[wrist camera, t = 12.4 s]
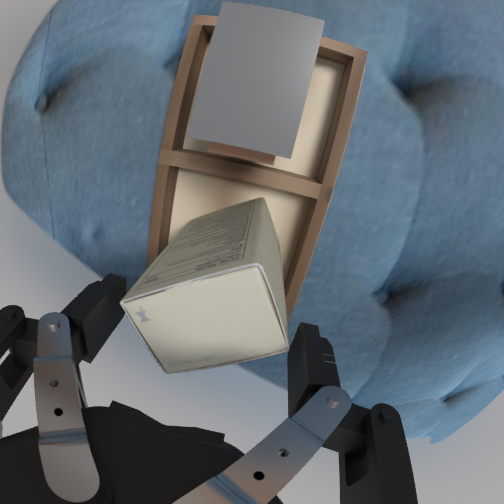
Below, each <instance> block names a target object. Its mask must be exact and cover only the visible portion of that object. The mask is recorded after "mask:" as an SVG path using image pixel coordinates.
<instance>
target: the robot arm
mask: <svg viewBox="0 0 504 504" xmlns="http://www.w3.org/2000/svg"><path fill="white" fill-rule="evenodd" d="M125 295H126V279H125V278H124V277H121V276H117V275H114V274H111V273H110V274H108V275H107V276H106V277H105V278H104V279H103V280H102V281H96V282H94V283H92V284H89V285H88V286H87V287H86V288H85V289H84V290H83V291H82V292H81V293H80V294H79V295H78V296H77V297H76V298H75V299H73V301H71V302H70V303H69V305H67V307H66V308H64V309H63V311H61V313H57V312H53V313H48V314H45V315H44V316H42V317H41V318H40V320H37V319H31V318H26V317H25V314H24V311H23V309H22V308H21V307H19V306H17V305H9V306H6V307H4V308H2V309H1V310H0V359H1V357H2V356H3V355H4V353H5V352H6V351H7V350H8V349H9V352H10V353H9V355H8V356H7V357H6V359H5V360H4V361H3V363H2V364H1V365H0V504H283V503H282V502H281V500H280V499H279V498H278V496H277V494H278V493H279V492H280V491H281V490H282V489H283V488H284V487H285V486H286V485H287V483H289V482H290V480H291V479H292V478H293V477H294V476H295V475H296V474H297V473H298V472H299V471H300V470H301V469H302V468H303V467H304V466H305V465H306V463H307V462H308V461H309V460H310V459H311V458H312V457H313V456H314V454H315V453H316V452H317V451H318V450H319V448H320V447H321V446H322V447H324V448H327V449H330V450H333V451H336V452H339V473H340V504H418V501H417V494H416V488H415V482H414V477H413V471H412V466H411V461H410V456H409V452H408V447H407V443H406V438H405V434H404V430H403V425H402V421H401V418H400V415H399V413H398V412H397V410H396V409H395V408H393V407H392V406H390V405H388V404H383V403H380V404H376V405H374V406H373V407H372V409H371V410H370V409H367V408H364V407H361V406H358V405H356V404H353V403H352V401H351V398H350V396H349V395H348V393H347V392H346V391H344V390H343V389H341V387H340V381H339V376H338V372H337V367H336V364H335V357H334V353H333V348H332V346H331V344H330V343H329V341H328V340H327V339H326V338H322V337H320V334H319V329H318V326H317V325H313V324H308V323H302V322H301V323H300V325H299V327H298V329H297V332H296V334H295V337H294V339H293V341H292V344H291V346H290V350H289V353H288V358H287V366H288V418H287V419H286V420H285V421H283V422H282V423H281V424H280V425H279V426H278V427H277V428H276V429H275V430H273V431H272V432H271V433H270V434H269V435H268V436H267V437H265V438H264V439H263V440H262V441H261V442H260V443H258V444H257V445H256V446H255V447H254V448H252V449H251V450H250V451H249V452H247V453H246V454H244V453H242V452H241V451H240V450H239V449H237V448H236V447H234V446H232V445H231V444H229V443H226V442H224V436H225V434H223V433H219V432H214V431H209V430H205V429H201V428H197V427H180V426H167V425H163V424H161V423H159V422H158V421H156V420H154V419H153V418H151V417H149V416H147V415H146V414H144V413H142V412H141V411H139V410H137V409H134V408H131V407H129V406H126V405H123V404H121V403H118V402H115V401H112V403H111V405H110V406H109V407H103V406H95V407H88V405H87V402H86V398H85V393H84V389H83V384H82V379H81V373H80V368H79V363H80V362H81V361H82V360H84V361H86V362H88V363H91V362H92V361H93V359H94V358H95V356H96V355H97V353H98V352H99V350H100V349H101V348H102V346H103V345H104V343H105V342H106V340H107V339H108V337H109V336H110V335H111V333H112V332H113V331H114V329H115V328H116V327H117V325H118V324H119V322H120V321H121V320H122V318H123V317H124V314H125V311H124V309H123V307H122V306H121V304H120V302H121V300H122V299H123V298H124V296H125ZM33 372H34V387H35V388H34V389H35V402H36V411H37V420H38V426H36V427H33V428H30V429H28V430H25V431H22V432H19V433H16V434H13V435H10V436H7V437H2V429H3V427H2V423H1V422H2V420H3V419H4V417H5V415H6V414H7V412H8V410H9V409H10V407H11V405H12V404H13V402H14V401H15V399H16V397H17V396H18V394H19V393H20V391H21V390H22V388H23V387H24V385H25V384H26V382H27V381H28V379H29V377H30V376H31V375H32V373H33Z"/></svg>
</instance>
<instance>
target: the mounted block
mask: <svg viewBox="0 0 504 504" xmlns="http://www.w3.org/2000/svg"><path fill="white" fill-rule="evenodd" d="M324 23H325V21H324V20H321V19H317V18H314V17H310V16H306V15H302V14H298V13H294V12H289V11H285V10H280V9H274V8H269V7H263V6H257V5H250V4H243V3H234V2H224V1H223V4H222V7H221V10H220V13H219V16H218V19H217V22H216V25H215V28H214V32H213V35H212V38H211V42H210V45H209V49H208V52H207V56H206V59H205V63H204V67H203V70H202V74H201V78H200V82H199V86H198V90H197V94H196V99H195V103H194V107H193V112H192V116H191V121H190V125H189V130H188V135H187V137H189V138H195V139H201V140H207V141H210V142H209V146H208V152H213V153H218V154H223V155H228V156H233V157H237V158H242V159H246V160H251V161H255V162H259V163H264V164H268V165H272V166H273V165H274V161H275V157H276V156H280V157H284V158H288V159H291V156H292V152H293V149H294V145H295V141H296V137H297V133H298V129H299V125H300V121H301V117H302V113H303V109H304V105H305V101H306V97H307V93H308V89H309V85H310V81H311V77H312V73H313V69H314V65H315V61H316V57H317V53H318V48H319V44H320V40H321V36H322V32H323V28H324Z"/></svg>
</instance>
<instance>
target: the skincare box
mask: <svg viewBox="0 0 504 504" xmlns="http://www.w3.org/2000/svg"><path fill="white" fill-rule="evenodd" d="M120 304H121V306H122V307H123V309H124V311H125V312H126V314H127V316H128V317H129V319H130V321H131V323H132V324H133V326H134V328H135V329H136V331H137V333H138V334H139V336H140V338H141V339H142V341H143V342H144V344H145V345H146V347H147V349H148V350H149V352H150V353H151V355H152V356H153V357H154V359H155V360H156V362H157V363H158V364H159V366H160V367H161V368H162V370H163V371H164V372H165V373H168V374H171V373H180V372H189V371H196V370H203V369H209V368H215V367H221V366H226V365H232V364H236V363H242V362H247V361H251V360H255V359H260V358H264V357H268V356H273V355H277V354H281V353H285V352H287V351H289V350H290V343H289V332H288V322H287V310H286V300H285V291H284V281H283V271H282V261H281V251H280V244H279V241H278V237H277V234H276V231H275V227H274V224H273V221H272V218H271V215H270V212H269V209H268V206H267V203H266V200H265V199H264V197H259V198H256V199H252V200H249V201H245V202H242V203H239V204H236V205H232V206H229V207H226V208H223V209H220V210H217V211H214V212H211V213H208V214H206V215H203V216H200V217H198V218H195V219H192V220H190V221H189V222H188V223H187V224H186V225H185V227H184V228H183V229H182V230H181V231H180V232H179V233H178V234H177V235H176V237H175V238H174V239H173V240H172V241H171V242H170V243H169V244H168V245H167V247H166V248H165V249H164V250H163V251H162V252H161V253H160V255H159V256H158V257H157V258H156V259H155V260H154V262H153V263H152V264H151V265H150V266H149V267H148V269H147V270H146V271H145V272H144V273H143V275H142V276H141V277H140V278H139V279H138V281H137V282H136V283H135V284H134V285H133V286H132V288H131V289H130V290H129V291H128V293H127V294H126V295H125V296H124V298H123V299H122V300H121V302H120Z"/></svg>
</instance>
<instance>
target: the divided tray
mask: <svg viewBox="0 0 504 504" xmlns="http://www.w3.org/2000/svg"><path fill="white" fill-rule="evenodd" d="M217 19H218V16H208V15H194V17H193V20H192V23H191V26H190V29H189V32H188V36H187V39H186V42H185V46H184V49H183V53H182V56H181V60H180V64H179V67H178V71H177V75H176V79H175V83H174V87H173V91H172V96H171V100H170V104H169V109H168V114H167V118H166V123H165V128H164V134H163V139H162V144H161V150H160V156H159V162H158V168H157V175H156V182H155V189H154V197H153V205H152V213H151V222H150V233H149V244H148V256H147V269H148V267H149V266H150V265H151V264H152V263H153V262H154V260H155V259H156V258H157V257H158V256H159V255H160V253H161V252H162V251H163V250H164V249H165V248H166V247H167V245H168V244H169V243H170V242H171V241H172V240H173V239H174V238H175V237H176V235H177V234H178V233H179V232H180V231H181V230H182V229H183V228H184V227H185V225H186V224H187V223H188V222H189V221H190V220H192V219H195V218H198V217H200V216H203V215H206V214H208V213H211V212H214V211H217V210H220V209H223V208H226V207H229V206H232V205H236V204H239V203H242V202H245V201H249V200H252V199H256V198H259V197H264V199H265V200H266V203H267V206H268V209H269V212H270V215H271V218H272V221H273V224H274V227H275V231H276V234H277V237H278V241H279V244H280V251H281V261H282V271H283V281H284V291H285V300H286V310H287V322H288V321H289V319H290V316H291V313H292V311H293V308H294V307H295V304H296V302H297V299H298V296H299V293H300V291H301V288H302V285H303V282H304V279H305V277H306V274H307V271H308V268H309V265H310V262H311V259H312V256H313V253H314V250H315V247H316V244H317V241H318V238H319V235H320V232H321V229H322V226H323V223H324V219H325V216H326V213H327V210H328V207H329V203H330V200H331V197H332V193H333V190H334V187H335V183H336V180H337V176H338V173H339V169H340V166H341V162H342V159H343V155H344V151H345V148H346V144H347V140H348V137H349V133H350V129H351V125H352V121H353V117H354V113H355V109H356V105H357V101H358V96H359V92H360V88H361V83H362V79H363V74H364V70H365V65H366V63H365V62H366V57H367V51H364V50H362V49H359V48H356V47H354V46H351V45H348V44H345V43H342V42H339V41H336V40H333V39H330V38H327V37H323V36H321V40H320V44H319V48H318V53H317V57H316V61H315V65H314V69H313V73H312V77H311V81H310V85H309V89H308V93H307V97H306V101H305V105H304V109H303V113H302V117H301V121H300V125H299V129H298V133H297V137H296V141H295V145H294V149H293V152H292V156H291V159H288V158H284V157H280V156H276V157H275V161H274V165H273V166H272V165H268V164H264V163H259V162H255V161H251V160H246V159H242V158H237V157H233V156H228V155H223V154H218V153H213V152H208V146H209V142H210V141H207V140H201V139H195V138H189V137H187V135H188V130H189V125H190V121H191V116H192V112H193V107H194V103H195V99H196V94H197V90H198V86H199V82H200V78H201V74H202V70H203V67H204V63H205V59H206V56H207V52H208V49H209V45H210V42H211V38H212V35H213V32H214V28H215V25H216V22H217Z"/></svg>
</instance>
